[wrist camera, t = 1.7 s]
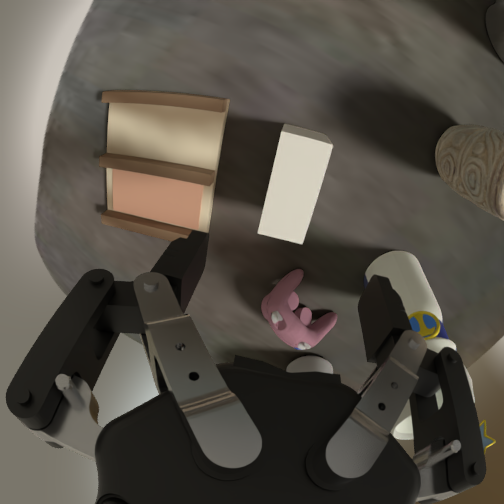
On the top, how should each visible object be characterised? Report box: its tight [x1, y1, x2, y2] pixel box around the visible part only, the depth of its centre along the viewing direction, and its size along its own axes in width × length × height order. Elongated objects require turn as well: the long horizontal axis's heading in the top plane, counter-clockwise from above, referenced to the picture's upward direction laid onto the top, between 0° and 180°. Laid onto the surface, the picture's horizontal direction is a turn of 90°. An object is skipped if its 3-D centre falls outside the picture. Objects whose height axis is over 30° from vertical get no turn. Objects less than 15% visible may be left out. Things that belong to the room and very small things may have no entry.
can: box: [286, 356, 333, 374], centre depth 38 cm, size 8×8×12 cm
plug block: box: [258, 123, 333, 244], centre depth 25 cm, size 9×4×6 cm, turn 169°
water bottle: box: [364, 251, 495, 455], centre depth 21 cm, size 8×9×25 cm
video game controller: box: [261, 269, 337, 350], centre depth 33 cm, size 10×5×7 cm, turn 39°
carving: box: [435, 125, 504, 220], centre depth 17 cm, size 6×8×12 cm
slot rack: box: [99, 90, 230, 241], centre depth 27 cm, size 16×13×2 cm
